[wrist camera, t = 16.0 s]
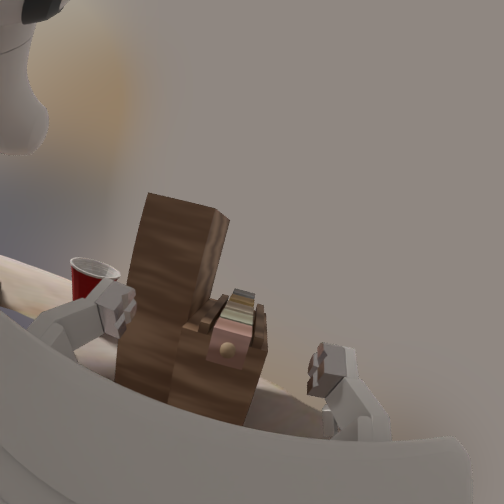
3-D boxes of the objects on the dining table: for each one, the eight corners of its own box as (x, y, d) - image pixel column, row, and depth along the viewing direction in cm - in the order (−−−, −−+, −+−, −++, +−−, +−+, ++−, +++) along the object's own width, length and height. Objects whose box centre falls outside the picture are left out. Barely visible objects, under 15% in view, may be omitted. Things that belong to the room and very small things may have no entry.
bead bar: (241, 372, 20) (251, 339, 20) (204, 362, 20) (212, 328, 20) (249, 312, 40) (254, 293, 40) (230, 307, 40) (235, 288, 40)
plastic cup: (92, 339, 40) (100, 275, 40) (53, 317, 41) (59, 258, 41) (122, 325, 51) (131, 271, 51) (85, 308, 52) (92, 256, 52)
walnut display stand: (235, 443, 26) (302, 229, 26) (107, 398, 27) (140, 189, 26) (244, 385, 42) (287, 235, 42) (150, 355, 43) (182, 208, 42)
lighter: (352, 464, 25) (380, 418, 24) (349, 471, 23) (378, 425, 23) (304, 445, 28) (327, 400, 28) (300, 452, 27) (323, 405, 26)
